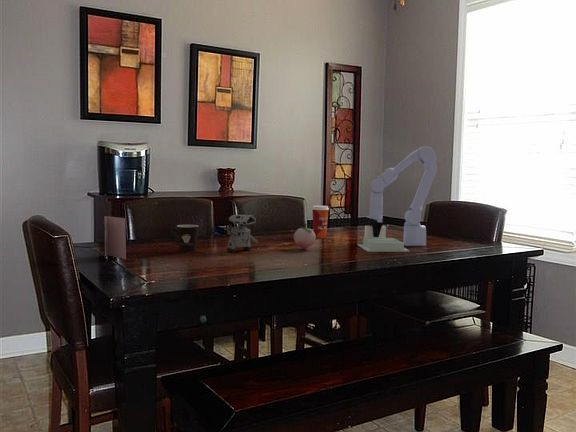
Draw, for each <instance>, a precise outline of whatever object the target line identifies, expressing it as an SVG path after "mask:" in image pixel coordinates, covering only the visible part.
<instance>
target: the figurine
mask: <svg viewBox="0 0 576 432" xmlns="http://www.w3.org/2000/svg"><path fill="white" fill-rule="evenodd" d="M256 219H257V218H256V217H254V215H253V214H233V215H231V216H230V217H229V218H228V220H229V221H230V222H232V223H233V224H234V225H237V226H233V224H231V225H229V226H228V227H227V234H226V235H227V236H230V238H229V239H228V241H227V248H226V251H227V252H229V253H235V252H236V247H237V248H242V249H243V251H248V252H249V251H252V245H251V241H252V242H254V243H255V244H259V241H260V238H261V237H260V236H258V238H257V239H256V238H254V236H253V235H251V233H252V232H251V229H250V228H248V227H247V225H252V224H255V223H256Z"/></svg>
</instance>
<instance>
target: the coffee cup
mask: <svg viewBox="0 0 576 432" xmlns="http://www.w3.org/2000/svg"><path fill="white" fill-rule="evenodd" d="M311 209H312V231H313V232H314V233H315V235H316V238H315V239H326V237H327V232H328V231H327V229H328V218H329V210H330V208H329V206H328V205H313V206H312V208H311Z"/></svg>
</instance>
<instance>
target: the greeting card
mask: <svg viewBox="0 0 576 432" xmlns="http://www.w3.org/2000/svg"><path fill="white" fill-rule="evenodd" d="M102 224H103V227H104V257H105V256H106V257H105V259H107V260H108V256H107V255H109V256H113V257H112V258H114V257H117V258H116V259H120V258H122V259H121V260H127V250H126V249H127V247H126V246H127V245H126V230H127V229H126V218H125V217H119V216H118V217H117V216H116V217H115V216H109V215H108V216H107V215H104V220H103V219H102Z"/></svg>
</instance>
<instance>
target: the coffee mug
mask: <svg viewBox="0 0 576 432" xmlns="http://www.w3.org/2000/svg"><path fill="white" fill-rule="evenodd" d="M199 227H200V226H199V225H197V224H178V225H176V228H170V229H169V230H167V236H168V238H169V239H170V240H171V241H173V242H174V243H176V244H177V245H178V247H179V248H178V249H179V252H181V253H194V252H196V251H197V245H198V244H197V243H198V237H199V236H198V235H199V229H200V228H199ZM171 231H174V232H175V233H176V234H177V239H178V241H177V240H175V239H174V238H172V237H171V236H170V232H171Z"/></svg>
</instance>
